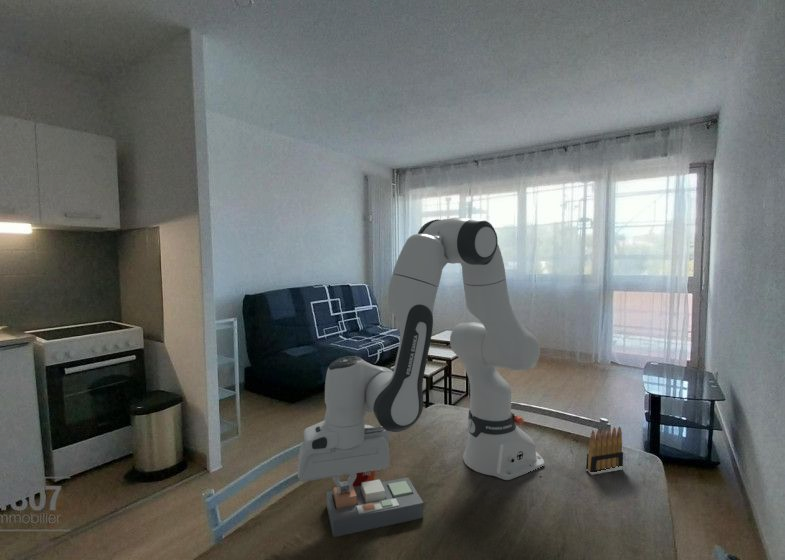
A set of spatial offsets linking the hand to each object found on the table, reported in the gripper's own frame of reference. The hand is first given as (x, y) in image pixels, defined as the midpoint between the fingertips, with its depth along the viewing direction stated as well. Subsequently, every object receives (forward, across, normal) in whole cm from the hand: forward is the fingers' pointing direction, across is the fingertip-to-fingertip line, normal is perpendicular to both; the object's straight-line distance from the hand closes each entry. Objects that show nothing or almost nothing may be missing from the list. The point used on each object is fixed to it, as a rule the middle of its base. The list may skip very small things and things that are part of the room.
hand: (344, 491), depth 84 cm
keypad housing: (+6, -7, +1) cm, 9 cm away
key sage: (+4, -13, 0) cm, 14 cm away
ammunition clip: (+5, -71, +3) cm, 71 cm away
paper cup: (+6, -7, -10) cm, 14 cm away
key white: (+3, -7, 0) cm, 7 cm away
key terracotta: (+3, 0, 0) cm, 3 cm away
